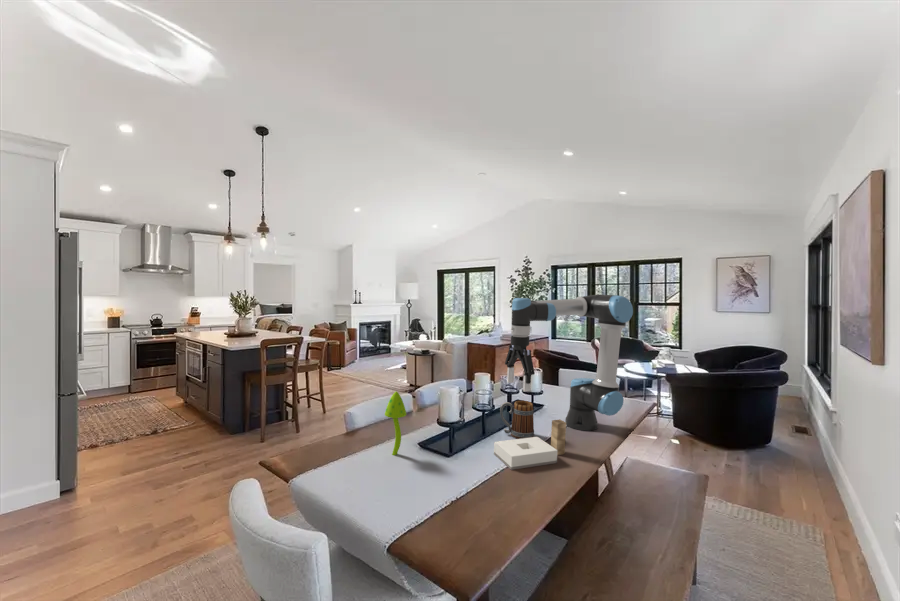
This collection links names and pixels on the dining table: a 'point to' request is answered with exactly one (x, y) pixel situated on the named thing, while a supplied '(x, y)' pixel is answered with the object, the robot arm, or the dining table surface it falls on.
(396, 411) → the mushroom
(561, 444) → the pin
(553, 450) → the block
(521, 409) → the mug
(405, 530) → the dining table surface
